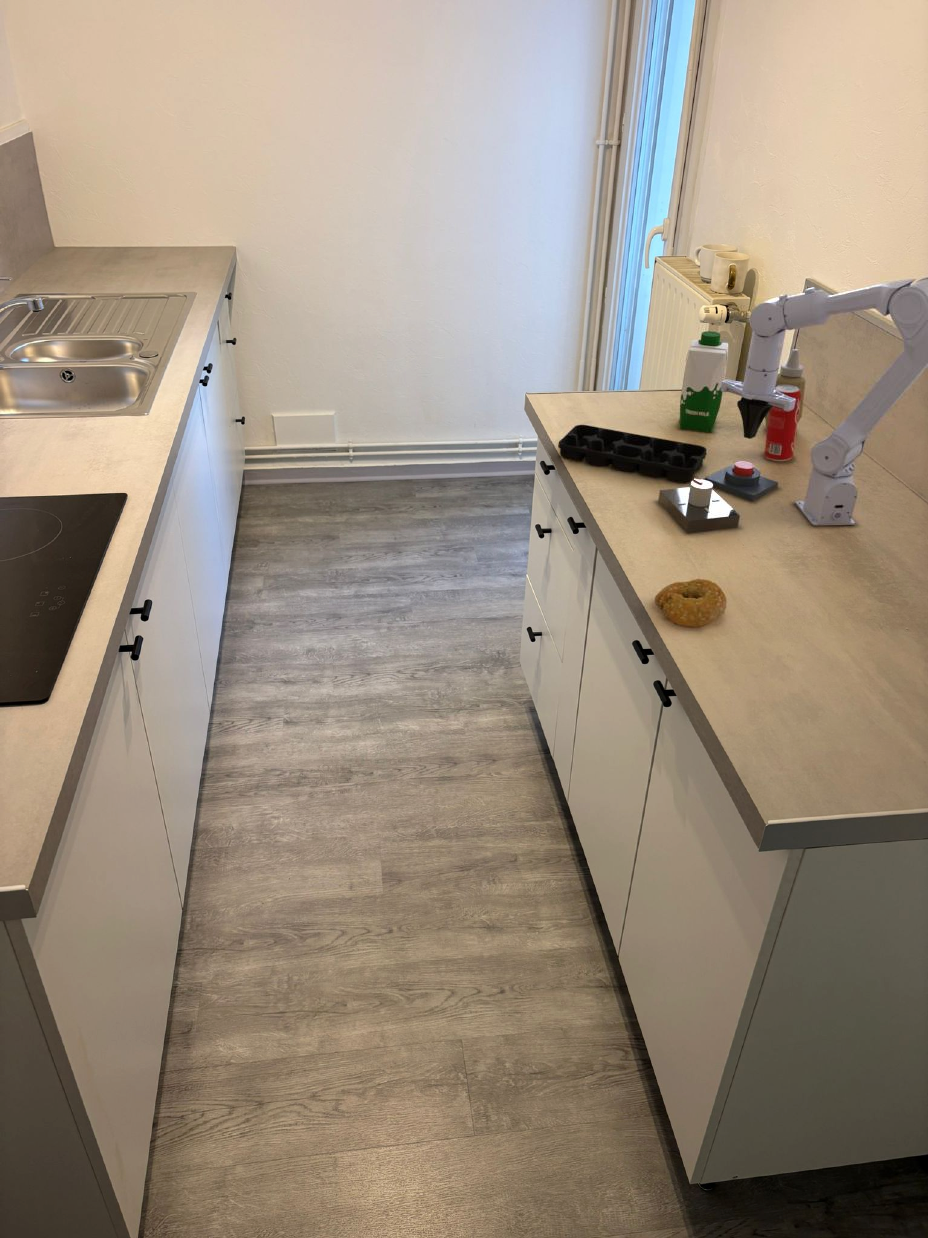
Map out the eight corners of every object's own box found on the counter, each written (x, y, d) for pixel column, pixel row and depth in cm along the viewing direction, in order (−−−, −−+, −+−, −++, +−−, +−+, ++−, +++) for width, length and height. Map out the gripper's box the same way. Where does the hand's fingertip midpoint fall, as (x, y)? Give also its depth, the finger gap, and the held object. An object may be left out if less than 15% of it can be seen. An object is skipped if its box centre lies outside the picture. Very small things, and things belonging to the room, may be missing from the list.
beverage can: (793, 463, 199) (808, 393, 191) (760, 461, 200) (774, 391, 192) (790, 452, 204) (805, 384, 196) (759, 450, 205) (772, 381, 197)
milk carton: (718, 420, 219) (732, 332, 208) (715, 435, 212) (729, 344, 201) (679, 416, 221) (691, 328, 210) (674, 430, 214) (687, 340, 203)
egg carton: (703, 487, 189) (705, 469, 187) (551, 470, 195) (553, 453, 193) (705, 453, 203) (708, 436, 201) (565, 438, 209) (566, 421, 207)
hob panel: (737, 528, 175) (740, 514, 173) (686, 533, 173) (689, 519, 171) (706, 497, 185) (708, 484, 184) (657, 502, 183) (659, 489, 182)
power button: (755, 473, 188) (757, 465, 187) (745, 478, 186) (747, 470, 185) (739, 467, 190) (741, 459, 189) (729, 472, 188) (731, 464, 187)
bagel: (672, 588, 157) (676, 562, 154) (735, 611, 151) (740, 585, 148) (641, 613, 150) (645, 586, 147) (705, 638, 144) (710, 611, 142)
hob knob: (714, 503, 177) (717, 484, 175) (699, 508, 175) (702, 489, 173) (698, 495, 180) (702, 476, 178) (683, 500, 178) (686, 481, 176)
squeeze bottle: (753, 425, 217) (768, 346, 207) (781, 420, 220) (797, 342, 210) (777, 438, 211) (793, 357, 201) (806, 433, 214) (823, 352, 204)
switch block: (777, 488, 189) (780, 473, 187) (752, 502, 184) (755, 486, 182) (729, 471, 196) (731, 456, 194) (703, 483, 190) (706, 469, 189)
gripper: (716, 361, 179) (705, 431, 186) (786, 381, 170) (771, 453, 177) (737, 353, 183) (726, 422, 190) (806, 372, 174) (791, 443, 182)
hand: (749, 436), depth 184 cm, fingers closed
